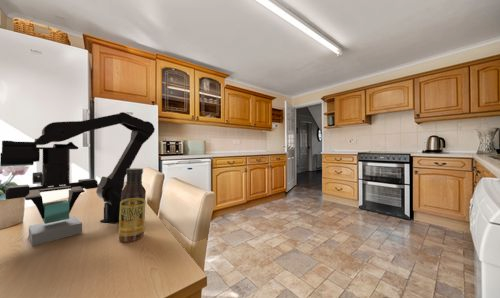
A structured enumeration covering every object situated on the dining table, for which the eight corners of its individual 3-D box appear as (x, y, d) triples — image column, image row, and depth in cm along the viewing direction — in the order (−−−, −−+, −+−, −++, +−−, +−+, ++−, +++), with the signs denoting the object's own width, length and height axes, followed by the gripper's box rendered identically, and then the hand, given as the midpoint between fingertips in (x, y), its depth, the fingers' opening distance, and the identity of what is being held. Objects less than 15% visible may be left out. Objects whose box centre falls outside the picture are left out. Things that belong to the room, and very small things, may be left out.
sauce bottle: (116, 245, 49) (116, 170, 49) (120, 236, 55) (120, 168, 55) (145, 239, 52) (145, 168, 52) (146, 231, 58) (146, 167, 58)
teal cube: (69, 218, 57) (69, 202, 57) (44, 223, 53) (45, 206, 53) (65, 215, 60) (65, 199, 60) (42, 220, 56) (42, 203, 56)
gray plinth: (82, 232, 57) (82, 222, 57) (32, 246, 49) (32, 234, 49) (74, 225, 63) (74, 216, 63) (28, 236, 55) (28, 225, 55)
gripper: (88, 162, 69) (88, 204, 68) (5, 165, 54) (4, 219, 54) (98, 162, 62) (98, 209, 62) (5, 166, 47) (5, 228, 47)
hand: (56, 216), depth 56 cm, fingers closed on teal cube, 5 cm apart
